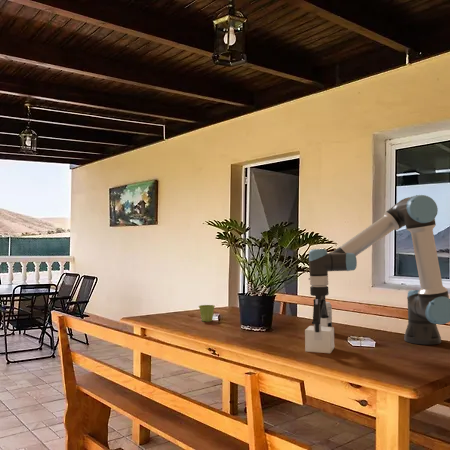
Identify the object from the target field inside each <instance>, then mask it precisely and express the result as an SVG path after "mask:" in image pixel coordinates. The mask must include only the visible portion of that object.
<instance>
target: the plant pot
mask: <svg viewBox="0 0 450 450" xmlns="http://www.w3.org/2000/svg"><path fill="white" fill-rule="evenodd" d="M215 307H216V306H215V305H214V304H201V305H198V308H199V311H200V317H201V319H200V320H201V322H206V323H208V322H209V323H210V322H213V317H214V310H215Z"/></svg>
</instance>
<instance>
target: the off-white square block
mask: <svg viewBox="0 0 450 450" xmlns="http://www.w3.org/2000/svg"><path fill="white" fill-rule="evenodd" d="M321 339H322V340H315V339H314V325H309V326H307V328H306V329H304V345H305V347H304V351H305V352H306V353H307V352H309V353H324V354H331V353H332V352H333V350H334V349H335V327H334V326H332V327H324V326H321Z"/></svg>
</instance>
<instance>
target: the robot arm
mask: <svg viewBox="0 0 450 450" xmlns="http://www.w3.org/2000/svg"><path fill="white" fill-rule="evenodd" d="M438 209H439V208H438V205H437V202H436V201H435V200H434V199H433V198H432V197H430V196H428V195H425V194H424V195H423V194H419V195H417V194H416V195H413V196H409V197H406V198H405V197H404V198H403V199H401V200H399V201H398V202H397V203H395V204H394V205H393V206H392V207H390V208H389V209H388V210H386V211H385V212H384V213H383V216H382V217H381V218H379V219H378V220H376V221H375V222H373V223H372V224H370V225H369V226H367V227H366V228H365V229H363V230H361V231H360V232H359V233H358V234H356V235H355V236H353V237H351V238H350V239H349V240H347V241H345V243H343V244H342V245H340V246H339V247H338V248H335V250H333V251H331V252H330V251H329V252H328V251H327V249H325V248H317V249H316V248H315V249H314V248H313V249H310V250H309V253H308V265H309V268H308V269H309V277H308V281H309V285H310V286H309V287H310V288H309V289H310V290H309V291H310V295H311V296H313V297H315V298H314V299H313V300H312V301H313V310H312V322H311V324H312V325H313V326H314V339H315V340H322V339H321V326H324V327H327V318H328V316H327V315H328V314H327V308H326V302H327V300H326V296H328V295H329V292H330V291H329V286H328V285H329V274H328V272H351V271H355V270H356V269H357V267H358V266H357V265H358V264H357V263H358V262H357V256H358V255H360V254H361V253H363V252H364V251H366V250H367V249H369V248H370V247H371V246H373V245H374V244H376V243H377V242H379V241H380V240H381V239H383V238H384V237H386V236H387V235H389V234H390V233H391V232H393V231H398V230H400V229H401V228H403V227H405V228H406V231H409V232H410V234H411V235H410V236H411V240H412V247H413V251H414V256H415V257H414V258H415V261H416V268H417V273H418V280H419V285H420V289H413V290H412V289H410V290H408V292H407V298H406V299H407V326H406V329H405V332H404V337H403V338H404V341H405V342H407V343H410V344H416V345H422V346H423V345H425V346H427V345H428V346H429V345H431V346H433V345H439V344H441V343H442V336H441V334H440V332H439V329H438V326H437V325H445V324H448V323H449V322H450V296H449V291H448V289H447V288H446V287H445V286H444V285H443V281H442V279H443V278H442V274H441V269H440V263H439V258H438V252H437V245H436V241H435V236H434V228H435V227H436V226H437V225H436V224H437V223H436V216H437V215H438V213H439V211H438Z"/></svg>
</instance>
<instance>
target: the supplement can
mask: <svg viewBox="0 0 450 450" xmlns="http://www.w3.org/2000/svg"><path fill="white" fill-rule="evenodd" d="M326 308H327V314H328V315H327V316H328V318H327V327H333V316H332V315H333V313H332V311H333V308H332V304H331V302H330V301H326Z"/></svg>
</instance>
